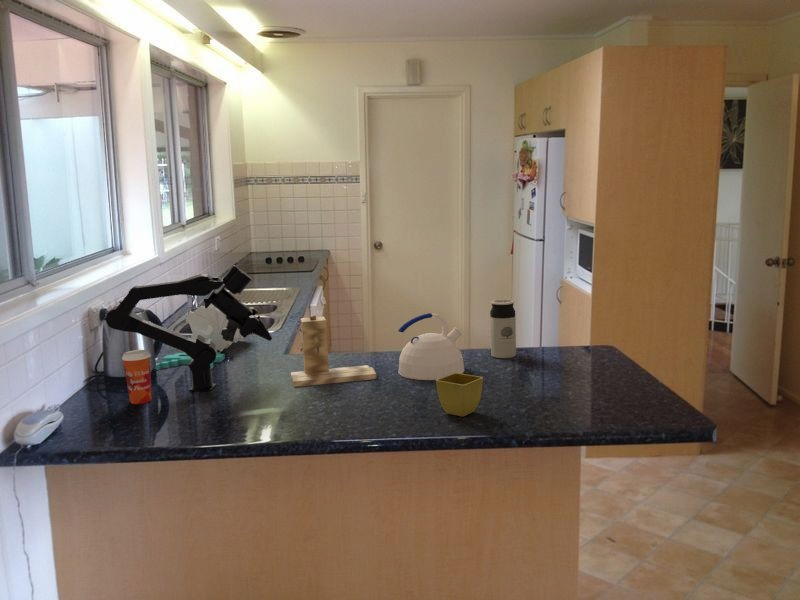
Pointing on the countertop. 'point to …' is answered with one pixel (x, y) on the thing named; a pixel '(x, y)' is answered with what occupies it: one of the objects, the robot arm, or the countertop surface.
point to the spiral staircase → (210, 326)
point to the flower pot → (459, 393)
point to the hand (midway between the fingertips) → (271, 339)
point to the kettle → (431, 353)
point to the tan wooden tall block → (314, 344)
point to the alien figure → (182, 360)
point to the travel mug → (503, 329)
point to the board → (333, 376)
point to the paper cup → (138, 375)
